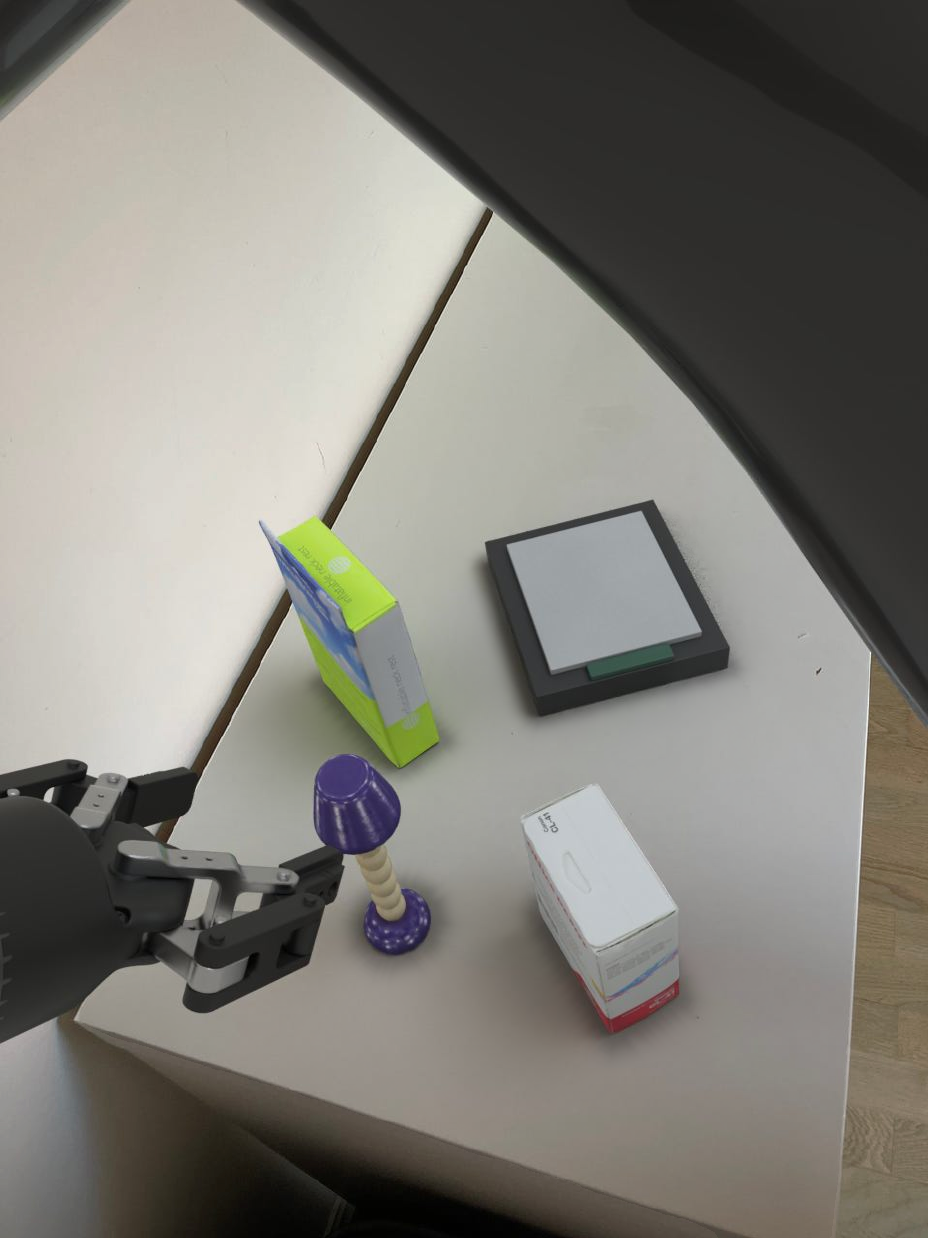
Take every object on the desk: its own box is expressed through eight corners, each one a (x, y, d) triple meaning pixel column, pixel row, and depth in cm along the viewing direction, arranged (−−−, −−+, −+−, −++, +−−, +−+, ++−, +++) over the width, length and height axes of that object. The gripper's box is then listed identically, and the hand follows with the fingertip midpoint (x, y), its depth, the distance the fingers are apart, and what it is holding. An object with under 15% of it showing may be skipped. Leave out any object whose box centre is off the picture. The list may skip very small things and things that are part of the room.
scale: (728, 668, 71) (730, 642, 69) (538, 717, 70) (535, 692, 68) (653, 520, 81) (653, 493, 79) (487, 562, 81) (483, 536, 79)
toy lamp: (369, 883, 64) (303, 739, 51) (441, 882, 63) (391, 736, 51) (360, 956, 61) (287, 822, 48) (435, 956, 60) (381, 821, 48)
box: (443, 741, 70) (398, 576, 57) (395, 774, 69) (338, 613, 56) (364, 654, 76) (307, 487, 63) (319, 683, 75) (251, 519, 62)
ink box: (682, 999, 57) (690, 912, 48) (604, 1041, 56) (597, 960, 47) (605, 874, 62) (599, 774, 53) (533, 910, 61) (515, 816, 52)
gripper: (98, 946, 26) (411, 816, 41) (-202, 742, 32) (162, 692, 47) (43, 1184, 28) (364, 977, 42) (-235, 946, 34) (129, 836, 48)
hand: (257, 827), depth 44 cm, fingers open, 8 cm apart
